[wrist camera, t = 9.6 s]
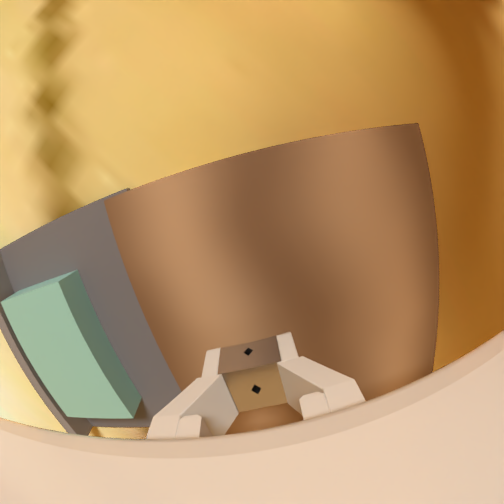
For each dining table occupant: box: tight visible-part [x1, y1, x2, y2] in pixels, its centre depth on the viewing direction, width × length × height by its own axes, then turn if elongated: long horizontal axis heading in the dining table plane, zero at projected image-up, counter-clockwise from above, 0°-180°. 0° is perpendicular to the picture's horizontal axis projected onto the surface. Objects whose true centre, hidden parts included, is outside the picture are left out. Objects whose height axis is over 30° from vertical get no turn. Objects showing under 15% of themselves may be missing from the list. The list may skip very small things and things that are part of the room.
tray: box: [0, 188, 182, 436], centre depth 13 cm, size 12×15×2 cm
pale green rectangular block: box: [1, 270, 142, 419], centre depth 13 cm, size 6×9×2 cm, turn 15°
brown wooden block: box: [104, 123, 439, 435], centre depth 12 cm, size 12×14×4 cm
